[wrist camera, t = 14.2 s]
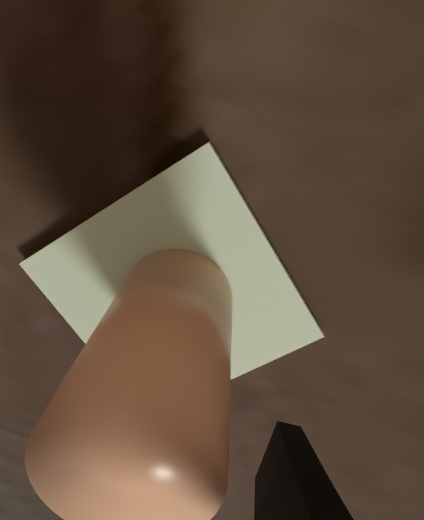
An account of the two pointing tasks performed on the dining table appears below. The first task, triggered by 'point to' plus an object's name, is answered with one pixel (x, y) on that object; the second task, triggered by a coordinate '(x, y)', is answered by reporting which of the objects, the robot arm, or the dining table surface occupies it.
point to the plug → (144, 402)
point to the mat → (187, 238)
